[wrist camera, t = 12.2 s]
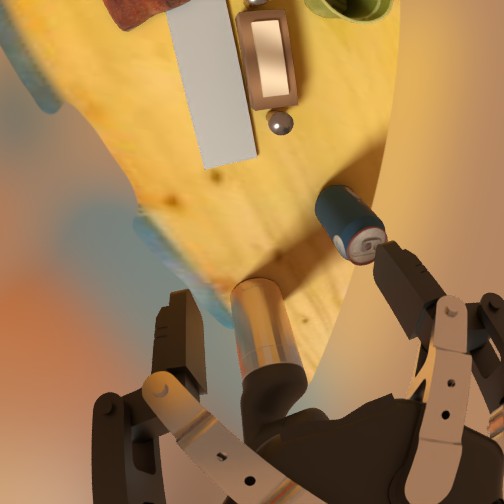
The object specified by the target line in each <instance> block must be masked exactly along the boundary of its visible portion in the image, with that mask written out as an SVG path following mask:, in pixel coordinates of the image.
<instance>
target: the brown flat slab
mask: <svg viewBox="0 0 504 504" xmlns="http://www.w3.org/2000/svg"><path fill="white" fill-rule="evenodd" d="M189 1H191V0H103V2H104V4H105V6H106V8H107V9H108V11H109V14H110V15H111V17H112V18H113V20H114V22H115V23H116V24H117V25H118V27H119V28H120V29H122V30H123V31H131V30H132V29H134V28H135V27H137V26H139V25H140V24H142V23H143V22H145V21H146V20H147V19H149V18H150V17H152V16H154V15H156V14H158V13H162V12H166V11H168V10H172V9H174V8H176V7H179V6H181V5H183V4H185V3H187V2H189Z"/></svg>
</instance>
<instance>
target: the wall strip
mask: <svg viewBox="0 0 504 504" xmlns="http://www.w3.org/2000/svg"><path fill="white" fill-rule="evenodd" d="M166 15H167V19H168V24H169V28H170V33H171V37H172V41H173V46H174V50H175V54H176V58H177V62H178V67H179V71H180V75H181V79H182V83H183V87H184V91H185V95H186V99H187V103H188V107H189V111H190V115H191V119H192V123H193V127H194V130H195V134H196V138H197V142H198V146H199V149H200V153H201V157H202V161H203V164H204V168H205V170H206V169H210V168H214V167H218V166H222V165H226V164H231V163H235V162H240V161H244V160H249V159H254V158H257V153H256V148H255V143H254V137H253V132H252V127H251V121H250V116H249V111H248V106H247V101H246V96H245V90H244V85H243V80H242V75H241V71H240V66H239V61H238V56H237V51H236V46H235V42H234V37H233V32H232V28H231V23H230V18H229V14H228V9H227V5H226V0H191V1H189V2H187V3H185V4H183V5H181V6H179V7H176V8H174V9H172V10H168V11H166Z"/></svg>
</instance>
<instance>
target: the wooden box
mask: <svg viewBox="0 0 504 504" xmlns="http://www.w3.org/2000/svg"><path fill="white" fill-rule="evenodd" d="M235 22H236V27H237V32H238V38H239V44H240V49H241V55H242V61H243V67H244V72H245V78H246V84H247V90H248V96H249V102H250V106H251V107H252V108H253V109H254V110H255V111H257V110H264V109H270V108H278V107H286V106H294V105H298V97H297V88H296V80H295V73H294V65H293V58H292V51H291V44H290V38H289V31H288V25H287V19H286V13H285V9H273V10H259V11H248V12H239V13H238V15H237V16H236V18H235Z"/></svg>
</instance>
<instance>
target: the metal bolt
mask: <svg viewBox="0 0 504 504" xmlns="http://www.w3.org/2000/svg"><path fill="white" fill-rule="evenodd" d="M267 1H268V0H244V5H245V6H246V7H247V8H256V7H257V6H258V5H263V4H265V3H266V2H267Z"/></svg>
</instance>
